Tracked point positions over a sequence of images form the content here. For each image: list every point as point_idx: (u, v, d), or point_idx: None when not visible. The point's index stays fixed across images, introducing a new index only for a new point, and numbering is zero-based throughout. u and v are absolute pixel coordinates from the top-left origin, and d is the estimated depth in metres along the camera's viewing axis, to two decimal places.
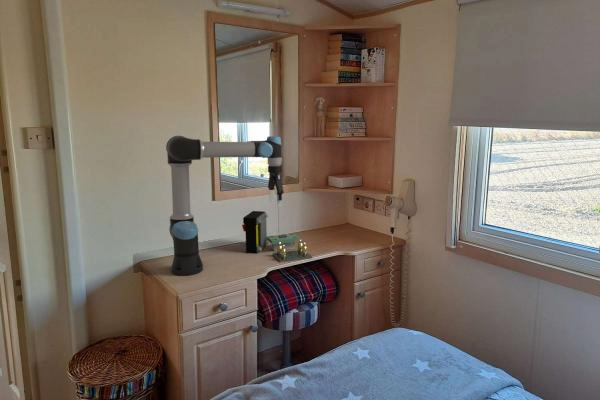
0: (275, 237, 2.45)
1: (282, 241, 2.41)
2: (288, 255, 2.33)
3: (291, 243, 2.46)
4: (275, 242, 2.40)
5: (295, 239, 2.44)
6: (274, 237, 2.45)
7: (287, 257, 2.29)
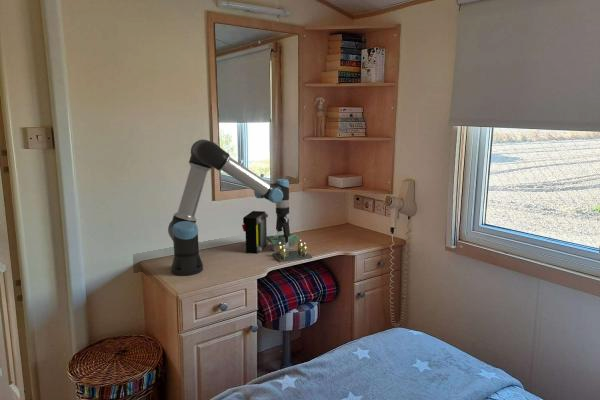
0: (275, 237, 2.45)
1: (282, 241, 2.41)
2: (288, 255, 2.33)
3: (291, 243, 2.46)
4: (275, 242, 2.40)
5: (295, 239, 2.44)
6: (274, 237, 2.45)
7: (287, 257, 2.29)
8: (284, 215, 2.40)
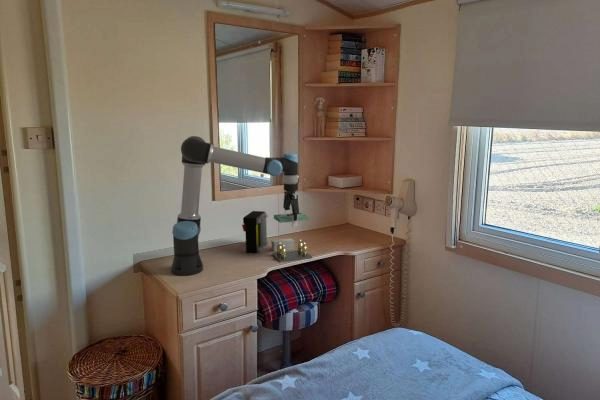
0: (283, 216, 2.30)
1: (291, 219, 2.26)
2: (288, 255, 2.33)
3: (291, 243, 2.46)
4: (283, 221, 2.24)
5: (304, 217, 2.28)
6: (282, 216, 2.30)
7: (287, 257, 2.29)
8: (293, 191, 2.25)
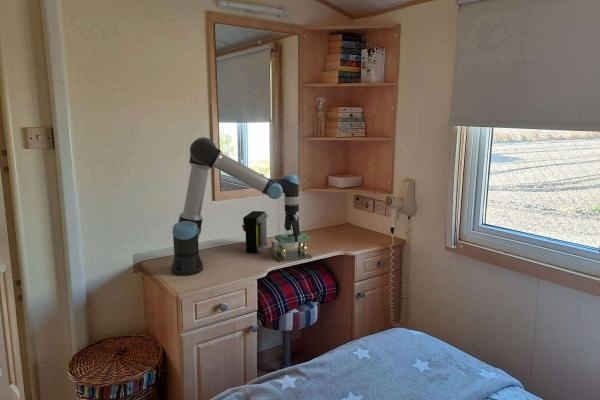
0: (284, 236, 2.31)
1: (291, 240, 2.27)
2: (288, 255, 2.33)
3: (291, 243, 2.46)
4: (284, 242, 2.25)
5: (305, 238, 2.29)
6: (283, 236, 2.31)
7: (287, 257, 2.29)
8: (293, 213, 2.26)
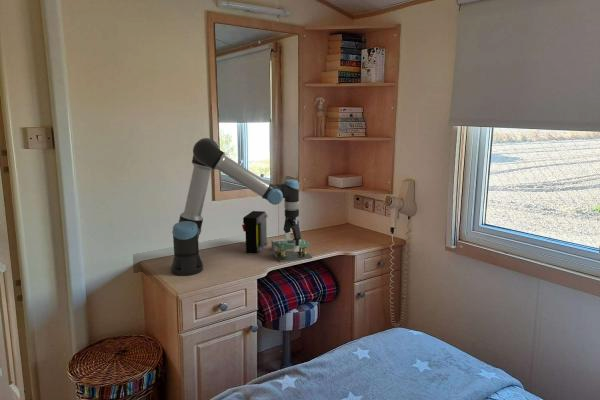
0: (284, 242, 2.31)
1: (291, 247, 2.27)
2: (288, 255, 2.33)
3: None
4: (284, 248, 2.26)
5: (305, 244, 2.30)
6: (283, 242, 2.31)
7: (287, 257, 2.29)
8: (293, 218, 2.26)
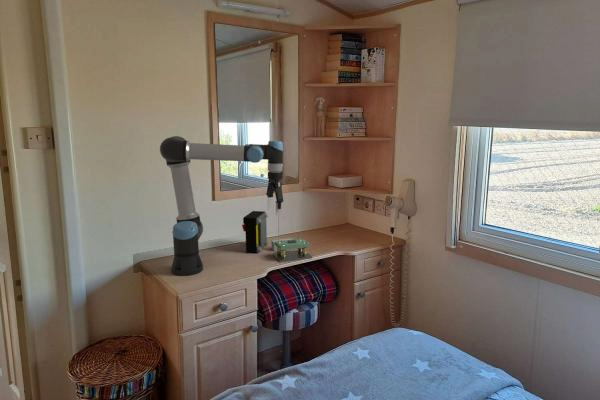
0: (284, 242, 2.31)
1: (291, 247, 2.27)
2: (288, 255, 2.33)
3: None
4: (284, 248, 2.26)
5: (305, 244, 2.30)
6: (283, 242, 2.31)
7: (287, 257, 2.29)
8: (276, 180, 2.19)
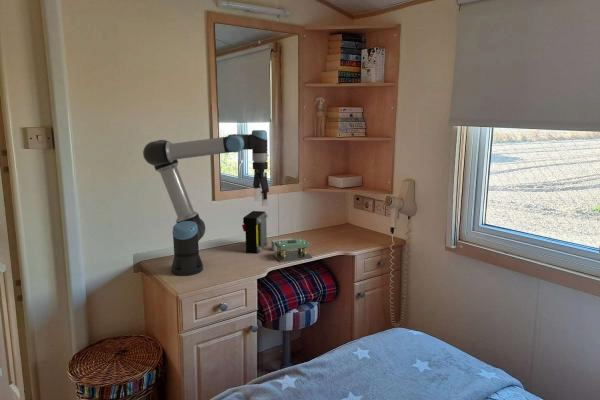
0: (284, 242, 2.31)
1: (291, 247, 2.27)
2: (288, 255, 2.33)
3: None
4: (284, 248, 2.26)
5: (305, 244, 2.30)
6: (283, 242, 2.31)
7: (287, 257, 2.29)
8: (261, 170, 2.15)
